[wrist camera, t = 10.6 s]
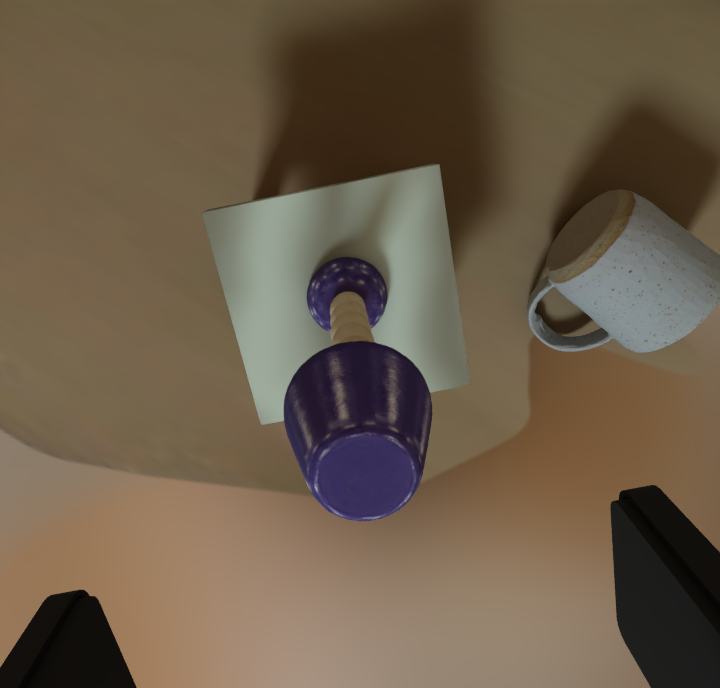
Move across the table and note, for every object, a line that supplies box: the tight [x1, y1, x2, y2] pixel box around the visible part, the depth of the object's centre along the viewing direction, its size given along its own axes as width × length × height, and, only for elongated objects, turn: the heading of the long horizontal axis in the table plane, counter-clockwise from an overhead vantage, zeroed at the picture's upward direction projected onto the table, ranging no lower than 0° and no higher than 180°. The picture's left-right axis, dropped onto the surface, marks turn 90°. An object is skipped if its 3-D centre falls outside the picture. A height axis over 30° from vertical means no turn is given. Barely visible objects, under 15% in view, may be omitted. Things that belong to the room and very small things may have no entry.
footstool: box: [202, 164, 470, 425], centre depth 34 cm, size 12×12×9 cm
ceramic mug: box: [527, 189, 720, 352], centre depth 36 cm, size 11×8×8 cm
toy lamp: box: [284, 257, 432, 521], centre depth 22 cm, size 5×5×17 cm
